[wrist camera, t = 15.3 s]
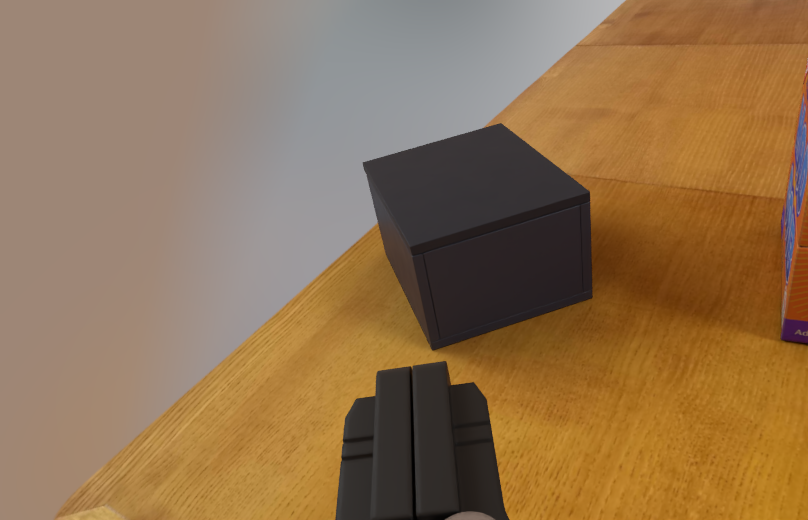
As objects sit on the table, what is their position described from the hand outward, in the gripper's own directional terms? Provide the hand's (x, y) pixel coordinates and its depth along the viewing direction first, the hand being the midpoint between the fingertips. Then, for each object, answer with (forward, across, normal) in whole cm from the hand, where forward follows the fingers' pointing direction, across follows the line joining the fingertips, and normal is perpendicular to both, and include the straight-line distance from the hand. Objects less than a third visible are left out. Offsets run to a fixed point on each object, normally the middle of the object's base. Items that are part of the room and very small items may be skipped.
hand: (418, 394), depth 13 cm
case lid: (+36, -2, +13) cm, 38 cm away
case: (+35, -3, +22) cm, 42 cm away
